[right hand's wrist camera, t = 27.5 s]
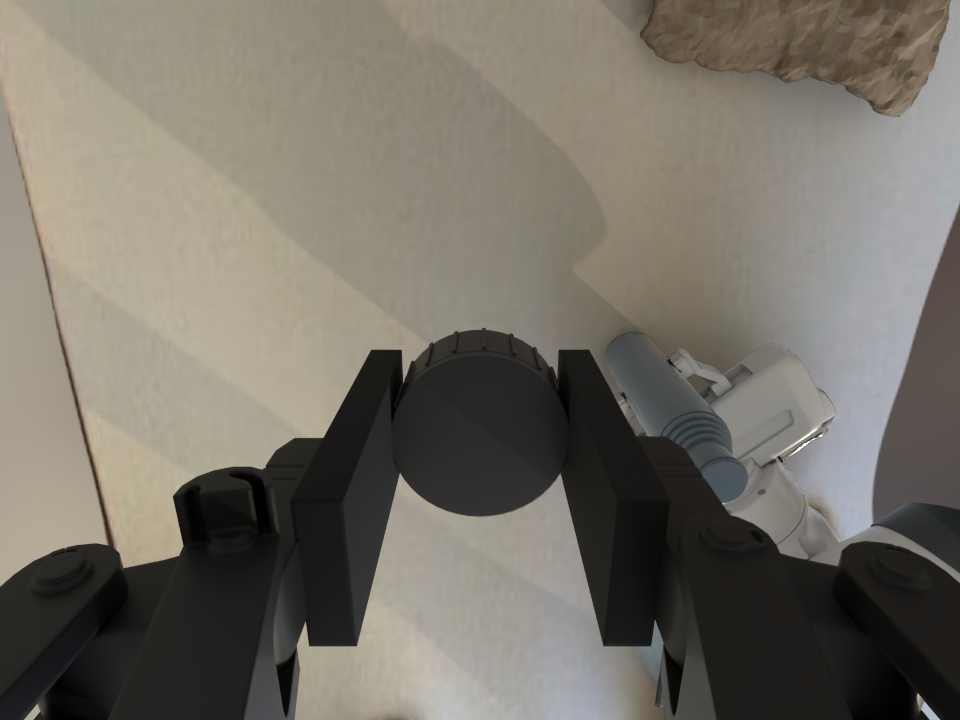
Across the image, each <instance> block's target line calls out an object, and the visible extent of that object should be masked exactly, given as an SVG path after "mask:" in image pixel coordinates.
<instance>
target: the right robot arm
mask: <svg viewBox="0 0 960 720" xmlns="http://www.w3.org/2000/svg"><path fill="white" fill-rule="evenodd" d="M557 381H558V384H559V387H560V390H561V391H560V394H561V397H562V400H563V403H564V406H565V409H566V413H567V416H568V419H569V432H568V449H567V459H566V462H565V464H564V467H563V469H562V471H561V477H562V481H563V485H564V489H565V493H566V497H567V501H568V505H569V509H570V513H571V517H572V521H573V525H574V529H575V533H576V537H577V541H578V545H579V549H580V553H581V557H582V561H583V565H584V569H585V573H586V577H587V581H588V585H589V589H590V593H591V597H592V601H593V606H594V610H595V614H596V618H597V622H598V626H599V630H600V634H601V638H602V642H603V646H651V643H652V636H653V628H654V621H655V620H656V623H657V626H658V628H659V631H660V634H661V636H662V639H663V642H664V646H663V653H662V660H661V667H660V674H659V680H658V687H657V694H656V701H655V706H658V707H662V706H663V701H664V708H665V717H666V720H929V719H928V717H927V716H926V715H925V714H924V713H923V711H922V710H921V707H922V705H923V702H924V701H925V702H926V704H927V705H928V706H929V707H930V708H931V709H932V711H933V712H934V713H935V714H936V715H937V716H938V718H939V719H940V720H960V583H959V582H958V581H957V580H956V579H955V578H954V577H952V576H951V575H950V574H949V573H948V572H947V571H945V570H944V569H942V568H941V567H939V566H938V565H936V564H935V563H933V562H932V561H931V560H929V559H927V558H925V557H923V556H921V555H919V554H917V553H914V552H912V551H911V550H909V549H906V548H903V547H900V546H894V545H893V544H888V543H882V542H871V541H862V542H856V543H851V544H849V545H848V546H847V547H845V548H844V549H843V550H842V552H841V555H840V559H839V563H838V566H835V565H830V564H825V563H820V562H815V561H810V560H805V559H800V558H796V557H792V556H789V555H785V554H781V553H780V552H779V550H778V547H777V545H776V544H775V542H774V541H773V540H772V538H771V537H770V536H769V534H768V533H766V532H765V531H763V530H762V529H761V528H759V527H758V526H756V525H755V524H753V523H751V522H749V521H746V520H744V519H742V518H739V517H737V516H732V515H730V514H729V513H728V511H727V510H726V508H725V507H724V505H723V504H722V503H721V501H720V500H719V498H718V497H717V495H716V494H715V492H714V491H713V489H712V488H711V486H710V485H709V484H708V482H707V481H706V479H705V478H703V475H702V473H701V472H700V470H699V469H698V467H697V466H695V463H694V462H693V460H692V459H691V457H690V456H689V454H688V453H687V451H686V450H685V449H684V448H683V447H681V446H680V445H678V444H677V443H675V442H674V441H672V440H671V439H669V438H668V437H666V436H636V435H635V434H634V432H633V430H632V428H631V426H630V424H629V423H628V421H627V419H626V417H625V415H624V413H623V411H622V410H621V408H620V406H619V404H618V402H617V400H616V399H615V397H614V395H613V393H612V391H611V389H610V388H609V386H608V384H607V382H606V380H605V378H604V377H603V375H602V373H601V371H600V369H599V367H598V365H597V364H596V362H595V360H594V358H593V356H592V354H591V353H590V351H589V350H559V356H558V376H557ZM401 384H403V369H402V350H371V351H370V353H369V355H368V357H367V359H366V361H365V362H364V364H363V366H362V368H361V370H360V372H359V374H358V375H357V377H356V379H355V381H354V383H353V385H352V386H351V388H350V390H349V392H348V394H347V396H346V397H345V399H344V401H343V403H342V405H341V407H340V409H339V410H338V412H337V414H336V416H335V418H334V420H333V421H332V423H331V425H330V427H329V429H328V431H327V432H326V434H325V436H324V438H294V439H293V440H291V441H290V442H288V443H287V444H285V445H284V446H282V447H281V448H279V449H278V450H276V451H275V453H274V454H273V456H272V457H271V459H270V460H269V462H268V463H267V465H266V468H264V469H263V470H261V469H257V468H253V467H230V468H224V469H219V470H214V471H211V472H209V473H206V474H203V475H200V476H198V477H196V478H194V479H192V480H191V481H189V482H188V483H186V484H184V485H183V486H181V488H180V489H179V490H178V491H177V492H176V493H175V494H174V495H173V499H174V504H175V508H176V513H177V518H178V522H179V527H180V531H181V536H182V541H183V545H184V546H183V548H182V551H181V553H180V555H179V556H177V557H174V558H170V559H166V560H162V561H157V562H152V563H148V564H143V565H138V566H133V567H128V568H123V565H122V561H121V557H120V554H119V552H117V551H116V550H115V549H114V548H113V547H112V546H108V545H102V544H97V543H95V544H84V545H76V546H71V547H67V548H65V549H64V548H63V549H60V550H57V551H54V552H52V553H50V554H48V555H46V556H44V557H42V558H39V559H37V560H35V561H33V562H32V563H30V564H29V565H27V566H26V567H24V568H23V569H21V570H20V571H19V572H17V573H16V574H14V575H13V576H12V577H11V578H10V579H9V580H7V581H6V582H5V583H4V584H3V585H2V586H1V587H0V720H24V719H25V718H26V716H27V715H28V714H29V713H30V712H31V711H32V709H33V708H34V707H35V706H36V705H37V703H38V706H39V709H40V713H39V714H38V715H37V716H36V717H35V719H34V720H294V719H295V709H296V700H297V691H298V682H299V673H300V667H299V660H298V653H297V643H298V640H299V638H300V635H301V632H302V630H303V627H304V624H305V621H306V626H307V633H308V640H309V646H357V643H358V639H359V635H360V631H361V627H362V623H363V619H364V615H365V611H366V607H367V603H368V599H369V595H370V591H371V587H372V583H373V579H374V575H375V571H376V567H377V563H378V559H379V555H380V551H381V547H382V542H383V538H384V534H385V530H386V526H387V522H388V518H389V514H390V510H391V506H392V502H393V498H394V494H395V490H396V486H397V482H398V478H399V474H400V472H399V470H398V468H397V465H396V463H395V461H394V457H393V443H392V418H393V414H394V405H395V402H396V399H397V396H398V393H399V390H400V387H401Z"/></svg>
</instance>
